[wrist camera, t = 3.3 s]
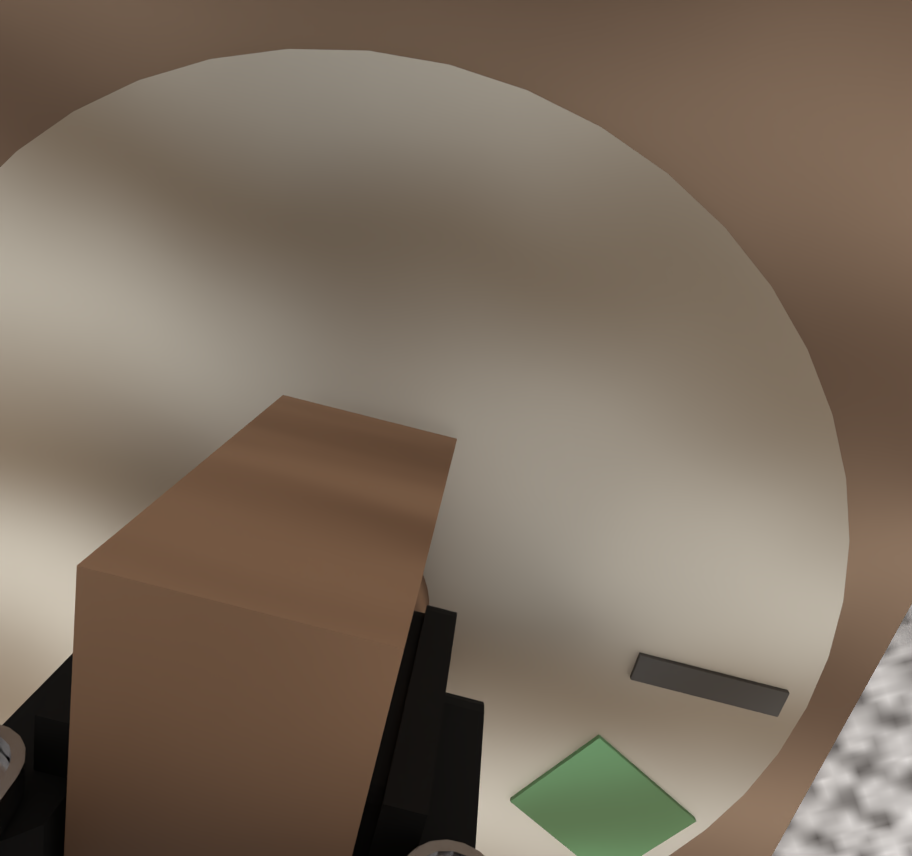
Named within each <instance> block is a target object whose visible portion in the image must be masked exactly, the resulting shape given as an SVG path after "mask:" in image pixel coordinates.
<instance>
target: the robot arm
mask: <svg viewBox="0 0 912 856" xmlns="http://www.w3.org/2000/svg"><path fill="white" fill-rule="evenodd" d="M456 619H457V612H453V611H449V610H445V609H442V608H438V607H434V606H430V605H427V607H426V610H425V613H422V612H418V611H414V612H413V616H412V620H411V624H410V628H409V632H408V636H407V640H406V644H405V648H404V652H403V656H402V660H401V664H400V668H399V671H398V675H397V679H396V683H395V687H394V691H393V695H392V699H391V703H390V707H389V711H388V715H387V719H386V723H385V727H384V731H383V735H382V739H381V743H380V747H379V751H378V755H377V759H376V763H375V767H374V770H373V774H372V778H371V782H370V786H369V790H368V794H367V798H366V802H365V806H364V810H363V814H362V818H361V822H360V826H359V830H358V834H357V838H356V842H355V846H354V850H353V854H352V856H484V855H483V854H482V853H481V852H480V851H478V850H476V849H475V848H476V833H477V818H478V802H479V787H480V771H481V756H482V741H483V725H484V702H482V701H478V700H474V699H470V698H466V697H463V696H459V695H455V694H451V693H447V692H446V687H447V681H448V674H449V667H450V660H451V653H452V646H453V640H454V633H455V626H456ZM72 661H73V653H72V654H71V655H70V656H69V657H68V658H67V659H66V660H65V661H64V662H63V664H62V665H61V666H60V667H59V668H58V669H57V670H56V671H55V672H54V673H53V674H52V675H51V676H50V677H49V678H48V679H47V680H46V681H45V682H44V683H43V684H42V685H41V686H40V687H39V688H38V689H37V690H36V691H35V692H34V693H33V694H32V695H31V696H30V697H29V698H28V699H27V700H26V701H25V702H24V703H23V704H22V705H21V706H20V707H19V708H18V709H17V710H16V711H15V712H14V713H13V714H12V715H11V716H10V717H9V718H8V719H7V720H6V722H5V723H4V724H3V725H0V856H64V842H65V819H66V796H67V774H68V751H69V729H70V706H71V683H72Z"/></svg>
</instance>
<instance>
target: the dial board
mask: <svg viewBox="0 0 912 856" xmlns="http://www.w3.org/2000/svg"><path fill="white" fill-rule="evenodd" d="M282 395H286V396H290V397H294V398H298V399H302V400H306V401H309V402H313V403H317V404H321V405H325V406H329V407H333V408H337V409H341V410H345V411H349V412H353V413H357V414H361V415H365V416H369V417H373V418H377V419H381V420H385V421H389V422H393V423H397V424H401V425H405V426H408V427H412V428H416V429H420V430H424V431H428V432H432V433H436V434H440V435H444V436H448V437H452V438H456V439H457V441H456V445H455V449H454V453H453V457H452V461H451V465H450V469H449V473H448V477H447V481H446V485H445V489H444V493H443V497H442V501H441V505H440V509H439V513H438V517H437V521H436V525H435V529H434V533H433V537H432V541H431V545H430V549H429V553H428V556H427V560H426V564H425V568H424V572H423V576H424V578H425V581H426V585H427V589H428V595H429V605H430V606H434V607H438V608H442V609H445V610H449V611H453V612H457V619H456V626H455V633H454V640H453V646H452V653H451V660H450V667H449V674H448V681H447V687H446V692H447V693H451V694H455V695H459V696H463V697H466V698H470V699H474V700H478V701H482V702H484V725H483V741H482V756H481V771H480V787H479V802H478V818H477V833H476V848H475V849H476V850H478V851H480V852H481V853H482V854H483V855H484V856H772V854H773V852H774V850H775V849H776V847H777V845H778V843H779V841H780V840H781V838H782V836H783V834H784V832H785V831H786V829H787V827H788V825H789V823H790V822H791V820H792V818H793V816H794V814H795V813H796V811H797V809H798V807H799V805H800V804H801V802H802V800H803V798H804V796H805V795H806V793H807V791H808V789H809V787H810V786H811V784H812V782H813V780H814V778H815V777H816V775H817V773H818V771H819V769H820V768H821V766H822V764H823V762H824V761H825V759H826V757H827V755H828V753H829V752H830V750H831V748H832V746H833V744H834V743H835V741H836V739H837V737H838V735H839V734H840V732H841V730H842V728H843V726H844V725H845V723H846V721H847V719H848V717H849V716H850V714H851V712H852V710H853V708H854V707H855V705H856V703H857V701H858V699H859V698H860V696H861V694H862V692H863V690H864V689H865V687H866V685H867V683H868V681H869V680H870V678H871V676H872V674H873V672H874V671H875V669H876V667H877V665H878V663H879V662H880V660H881V658H882V656H883V654H884V653H885V651H886V649H887V647H888V645H889V644H890V642H891V640H892V638H893V636H894V635H895V633H896V631H897V629H898V627H899V626H900V624H901V622H902V620H903V618H904V617H905V615H906V613H907V611H908V609H909V608H910V606H911V604H912V0H0V725H3V724H4V723H5V722H6V720H7V719H8V718H9V717H10V716H11V715H12V714H13V713H14V712H15V711H16V710H17V709H18V708H19V707H20V706H21V705H22V704H23V703H24V702H25V701H26V700H27V699H28V698H29V697H30V696H31V695H32V694H33V693H34V692H35V691H36V690H37V689H38V688H39V687H40V686H41V685H42V684H43V683H44V682H45V681H46V680H47V679H48V678H49V677H50V676H51V675H52V674H53V673H54V672H55V671H56V670H57V669H58V668H59V667H60V666H61V665H62V664H63V662H64V661H65V660H66V659H67V658H68V657H69V656H70V655H71V654H72V653H73V638H74V615H75V593H76V570H77V565H78V564H79V563H80V562H82V561H83V560H84V559H85V558H86V557H88V556H89V555H90V554H91V553H92V552H94V551H95V550H96V549H97V548H99V547H100V546H101V545H102V544H103V543H105V542H106V541H107V540H108V539H109V538H111V537H112V536H113V535H114V534H115V533H117V532H118V531H119V530H120V529H121V528H123V527H124V526H125V525H126V524H128V523H129V522H130V521H131V520H132V519H134V518H135V517H136V516H137V515H138V514H140V513H141V512H142V511H143V510H144V509H146V508H147V507H148V506H149V505H150V504H152V503H153V502H154V501H155V500H157V499H158V498H159V497H160V496H161V495H163V494H164V493H165V492H166V491H167V490H169V489H170V488H171V487H172V486H173V485H175V484H176V483H177V482H178V481H180V480H181V479H182V478H183V477H184V476H186V475H187V474H188V473H189V472H190V471H192V470H193V469H194V468H195V467H196V466H198V465H199V464H200V463H201V462H202V461H204V460H205V459H206V458H207V457H209V456H210V455H211V454H212V453H213V452H215V451H216V450H217V449H218V448H219V447H221V446H222V445H223V444H224V443H225V442H227V441H228V440H229V439H230V438H232V437H233V436H234V435H235V434H236V433H238V432H239V431H240V430H241V429H242V428H244V427H245V426H246V425H247V424H248V423H250V422H251V421H252V420H253V419H254V418H256V417H257V416H258V415H259V414H261V413H262V412H263V411H264V410H265V409H267V408H268V407H269V406H270V405H271V404H273V403H274V402H275V401H276V400H277V399H279V398H280V397H281V396H282Z"/></svg>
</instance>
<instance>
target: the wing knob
mask: <svg viewBox="0 0 912 856" xmlns="http://www.w3.org/2000/svg"><path fill="white" fill-rule="evenodd" d="M456 441H457V439H456V438H452V437H448V436H444V435H440V434H436V433H432V432H428V431H424V430H420V429H416V428H412V427H408V426H405V425H401V424H397V423H393V422H389V421H385V420H381V419H377V418H373V417H369V416H365V415H361V414H357V413H353V412H349V411H345V410H341V409H337V408H333V407H329V406H325V405H321V404H317V403H313V402H309V401H306V400H302V399H298V398H294V397H290V396H286V395H282V396H281V397H280V398H279V399H277V400H276V401H275V402H274V403H273V404H271V405H270V406H269V407H268V408H267V409H265V410H264V411H263V412H262V413H261V414H259V415H258V416H257V417H256V418H254V419H253V420H252V421H251V422H250V423H248V424H247V425H246V426H245V427H244V428H242V429H241V430H240V431H239V432H238V433H236V434H235V435H234V436H233V437H232V438H230V439H229V440H228V441H227V442H225V443H224V444H223V445H222V446H221V447H219V448H218V449H217V450H216V451H215V452H213V453H212V454H211V455H210V456H209V457H207V458H206V459H205V460H204V461H202V462H201V463H200V464H199V465H198V466H196V467H195V468H194V469H193V470H192V471H190V472H189V473H188V474H187V475H186V476H184V477H183V478H182V479H181V480H180V481H178V482H177V483H176V484H175V485H173V486H172V487H171V488H170V489H169V490H167V491H166V492H165V493H164V494H163V495H161V496H160V497H159V498H158V499H157V500H155V501H154V502H153V503H152V504H150V505H149V506H148V507H147V508H146V509H144V510H143V511H142V512H141V513H140V514H138V515H137V516H136V517H135V518H134V519H132V520H131V521H130V522H129V523H128V524H126V525H125V526H124V527H123V528H121V529H120V530H119V531H118V532H117V533H115V534H114V535H113V536H112V537H111V538H109V539H108V540H107V541H106V542H105V543H103V544H102V545H101V546H100V547H99V548H97V549H96V550H95V551H94V552H92V553H91V554H90V555H89V556H88V557H86V558H85V559H84V560H83V561H82V562H80V563H79V564H78V565H77V570H76V593H75V615H74V638H73V661H72V683H71V706H70V729H69V751H68V774H67V796H66V819H65V842H64V856H352V854H353V850H354V846H355V842H356V838H357V834H358V830H359V826H360V822H361V818H362V814H363V810H364V806H365V802H366V798H367V794H368V790H369V786H370V782H371V778H372V774H373V770H374V767H375V763H376V759H377V755H378V751H379V747H380V743H381V739H382V735H383V731H384V727H385V723H386V719H387V715H388V711H389V707H390V703H391V699H392V695H393V691H394V687H395V683H396V679H397V675H398V671H399V668H400V664H401V660H402V656H403V652H404V648H405V644H406V640H407V636H408V632H409V628H410V624H411V620H412V616H413V612H414V611H418V612H422V613H425V610H426V607H427V605H429V595H428V589H427V585H426V581H425V578H424V576H423V572H424V568H425V564H426V560H427V556H428V553H429V549H430V545H431V541H432V537H433V533H434V529H435V525H436V521H437V517H438V513H439V509H440V505H441V501H442V497H443V493H444V489H445V485H446V481H447V477H448V473H449V469H450V465H451V461H452V457H453V453H454V449H455V445H456Z"/></svg>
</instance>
